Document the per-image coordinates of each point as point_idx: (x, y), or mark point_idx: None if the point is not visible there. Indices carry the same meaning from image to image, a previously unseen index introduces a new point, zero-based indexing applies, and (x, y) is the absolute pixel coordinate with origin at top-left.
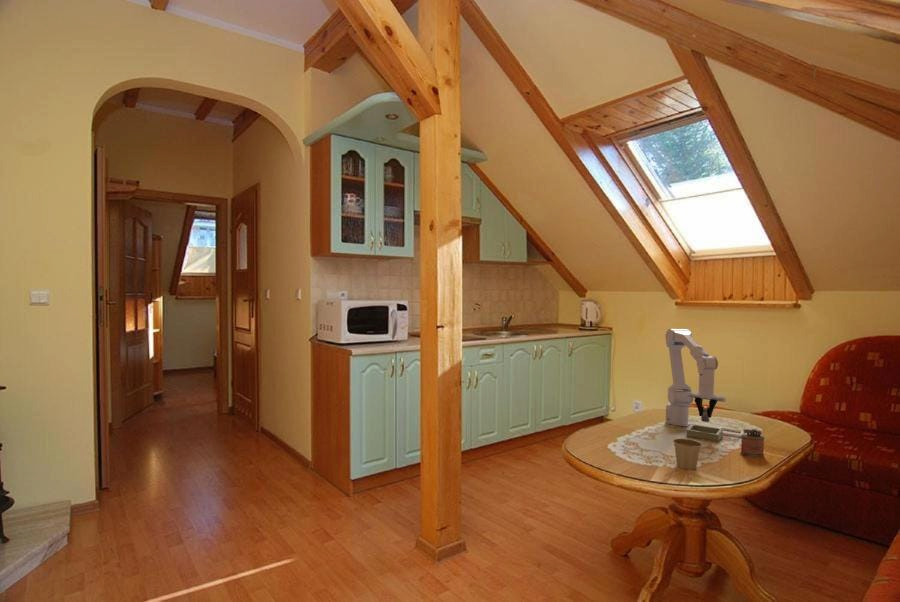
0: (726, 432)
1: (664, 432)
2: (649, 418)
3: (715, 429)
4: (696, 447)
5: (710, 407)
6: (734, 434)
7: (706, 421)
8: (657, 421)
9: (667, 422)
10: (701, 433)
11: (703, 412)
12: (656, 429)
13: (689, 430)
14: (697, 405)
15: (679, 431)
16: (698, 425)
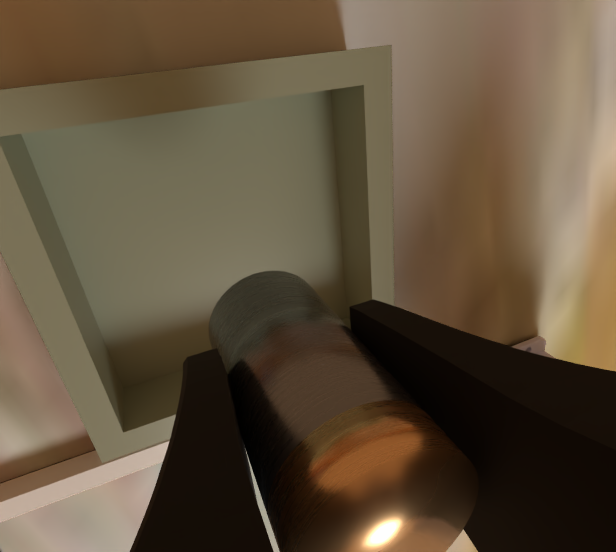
0: (100, 484)
1: (531, 54)
2: (612, 359)
3: (169, 406)
4: None
5: (219, 548)
6: (4, 498)
7: (232, 290)
8: (576, 340)
9: (534, 348)
10: (201, 67)
11: (349, 356)
12: (585, 109)
13: (356, 50)
14: (605, 380)
15: (435, 212)
16: None
